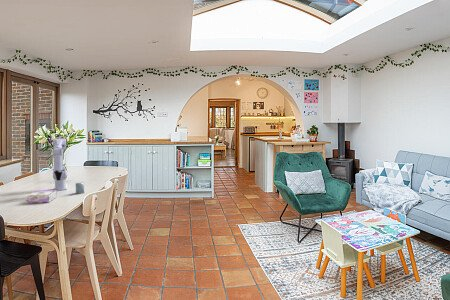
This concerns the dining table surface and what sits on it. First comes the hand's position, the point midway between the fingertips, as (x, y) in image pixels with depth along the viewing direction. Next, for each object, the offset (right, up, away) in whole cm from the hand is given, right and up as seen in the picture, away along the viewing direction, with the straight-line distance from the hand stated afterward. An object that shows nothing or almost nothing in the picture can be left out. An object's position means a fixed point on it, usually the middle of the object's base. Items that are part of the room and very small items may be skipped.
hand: (58, 180), depth 243 cm
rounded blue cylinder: (+16, -11, +2) cm, 19 cm away
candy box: (-1, -9, -14) cm, 16 cm away
